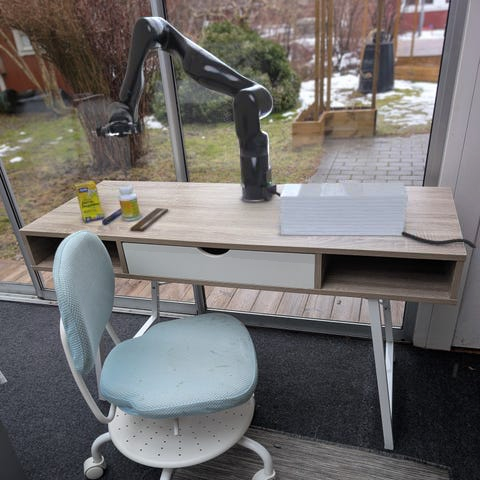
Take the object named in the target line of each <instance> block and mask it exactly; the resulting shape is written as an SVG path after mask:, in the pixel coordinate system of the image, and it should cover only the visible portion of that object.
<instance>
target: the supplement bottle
mask: <svg viewBox="0 0 480 480" xmlns="http://www.w3.org/2000/svg"><path fill="white" fill-rule="evenodd" d="M118 190H119V195H118V202H119V206H120V208H121V211H122V214H121V215H122V219H123V220H124V221H128V222H129V221H137V220H138V219H139V218H140V217H141V213H140V208H139V202H138V197H137V194H136V193H135V192H134V188H133V186H132V185H123V186H120V187H118Z"/></svg>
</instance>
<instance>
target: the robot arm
mask: <svg viewBox="0 0 480 480" xmlns="http://www.w3.org/2000/svg"><path fill="white" fill-rule="evenodd" d="M129 43H130V44H129V51H128V59H127V65H126V72H125V75H124V78H123V81H122V84H121V87H120V91H119V95H118V97H119V100H120V101H121V102H118V101H114V102H112V103H111V104H110V105H109V107H108V111H107V112H108V113H107V118H108V123H107V124H105V125H104V126H103V125H102V124H98V125H97V126H96V127H95V132H96V137H99V138H100V137H101V138H104V139H106V138H107V137H113V136H114V137H116V138H119V139H124V138H127V137H128V136H129V135H132V136H134V135H135V134H137V132H138V133H142V132H143V126H142V121H141V120H138V119H139V105H140V101H141V98H142V96H143V95H142V94H143V93H144V92H143V91H144V88H145V84H146V77H145V73H144V72H145V71H144V65H145V61H146V58H147V56H148V54H149V52H154V51H155V52H156V51H162V52H164V53H166V54H168V55H170V56H171V57H173V58H174V59H175V60H176V61H177V62H178V64H179V66H180V68H181V70H182V72H183V73H184V74H185V76H187V77H188V79H191V80H192V81H193V82H194V83H196V84H197V85H199V86H200V87H202V88H204V89H206V90H209V91H211V92H215V93H217V94H221V95H224V96H227V97H230V98H231V99H233V100H232V114H233V115H232V116H233V123H234V131H235V135H236V139H237V141H238V151H239V167H240V180H241V182H240V187H241V195H242V196H241V199H242V201H245V202H247V203H263V202H268V201H269V200H270V199H271V198H272V196H277V197H279V198H280V195H281V192H278V191H277V183H273V179H272V178H273V176H272V174H273V173H272V166H270V146H269V134H268V133H267V132H265V131H263V130H262V128H261V127H262V126H261V119H263V118H265V117H267V116H268V115H270V113H271V112H272V110H273V106H274V105H273V104H274V102H273V97H272V95H271V93H270V92H269V90H268V89H267V88H265V87H264V86H263V85H261V84H259V83H257V82H256V81H253V80H251V79H249V78H247V77H245V76H243V75H242V74H240V73H239V72H237V71H236V70H235V69H234V68H232V67H230V66H229V65H227V64H226V63H224V62H223V61H221V60H220V59H219V58H217V57H216V56H214V55H213V54H212V53H211V52H209V51H207V50H206V49H204V48H203V47H201V46H199V45H198V44H196V43H195V42H193V41H192V40H190V39H189V38H187V37H186V36H185V35H183V34H182V33H181V32H179V31H178V30H177V29H176V28H175V27H174V26H173V25H171V24H170V23H169V22H168V21H167V20H165V19H164V18H163V17H160V16H143V17H140V18H137V19H136V21H135V22H134V24H133V26H132V31H131V37H130V42H129ZM401 234H402V235H403V237H407V238H410V239H412V240H415V241H417V242H421V243H426V244H430V245H447V244H448V245H449V244H454V243H455V244H456V243H461V244H466V245H468V246H469V247H470V248H472V249H476V248H477V246H476V245H475V244H474V243H473V242H472V241H470V240H469V239H465V238H453V239H445V240H432V239H428V238H425V237H424V238H423V237H420V236H418V235H417V236H416V235H414V234H411V233H409V232H406V231H403V232H402V233H401ZM463 242H464V243H463ZM458 367H459V363H455V364H454V367H453V371H452V377H453V378H456V377H457V373H458Z"/></svg>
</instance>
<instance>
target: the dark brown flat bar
mask: <svg viewBox="0 0 480 480" xmlns="http://www.w3.org/2000/svg"><path fill="white" fill-rule="evenodd" d="M168 212H169V209H168V208H165V207H164V208H163V207H162V208H160V207H156V208H155V209H154V210H152V211H151V212H150V213H148V214H147V215H146V216H145V217H143V218H142V219H140V220H139V221H137V222H136V223H134V224H133V225H132V226H131V227H130V231H131V232H142V233H143V232H145V230H146V229H148V228H149V227H150V226H151V225H153V224H154V223H156V221H158V220H159V219H160V218H162V217H163V216H164V215H165V214H166V213H168Z"/></svg>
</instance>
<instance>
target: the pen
mask: <svg viewBox="0 0 480 480" xmlns="http://www.w3.org/2000/svg"><path fill="white" fill-rule="evenodd" d="M121 215H122V211H121V207H120V208H119V209H118V210H116V211H114V212H113V213H111V214H110V215H108V216H106V217H104V219H102V221H101V223H102V225H103V226H107V225H108V224H110V223H111V222H113V221H114V220H115V219H117V218H118V217H120V216H121Z"/></svg>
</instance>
